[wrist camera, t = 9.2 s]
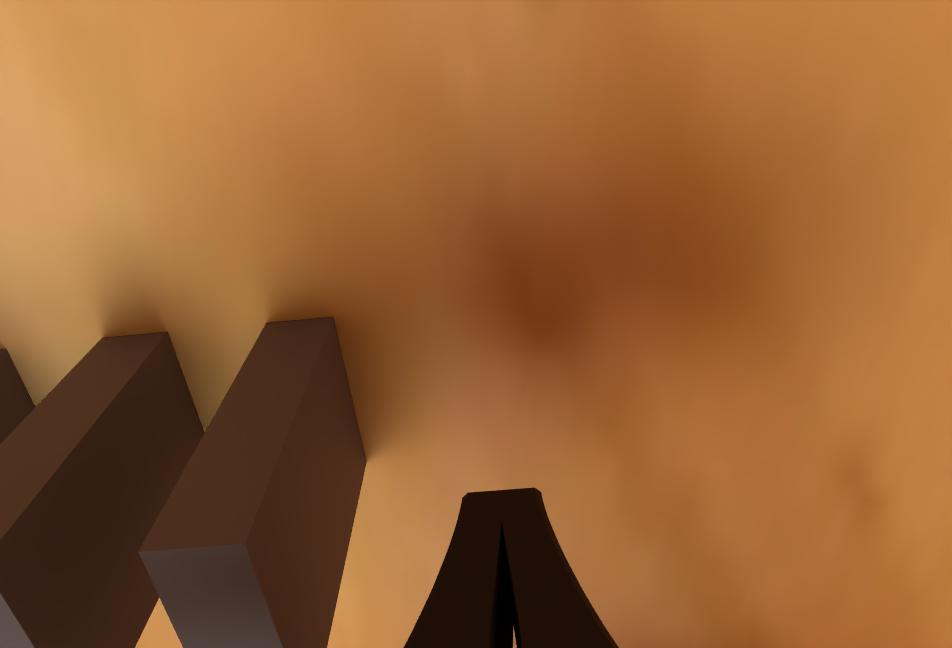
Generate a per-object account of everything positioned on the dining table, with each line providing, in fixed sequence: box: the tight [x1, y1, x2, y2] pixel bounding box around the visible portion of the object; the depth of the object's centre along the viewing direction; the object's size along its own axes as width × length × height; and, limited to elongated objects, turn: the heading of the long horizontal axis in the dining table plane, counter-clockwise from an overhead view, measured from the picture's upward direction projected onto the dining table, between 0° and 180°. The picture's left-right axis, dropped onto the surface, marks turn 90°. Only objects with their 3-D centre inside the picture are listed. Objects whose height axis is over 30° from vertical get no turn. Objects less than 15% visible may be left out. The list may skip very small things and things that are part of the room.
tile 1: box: [138, 317, 366, 648], centre depth 14 cm, size 2×4×7 cm, turn 5°
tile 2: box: [0, 332, 205, 648], centre depth 14 cm, size 2×4×7 cm, turn 6°
